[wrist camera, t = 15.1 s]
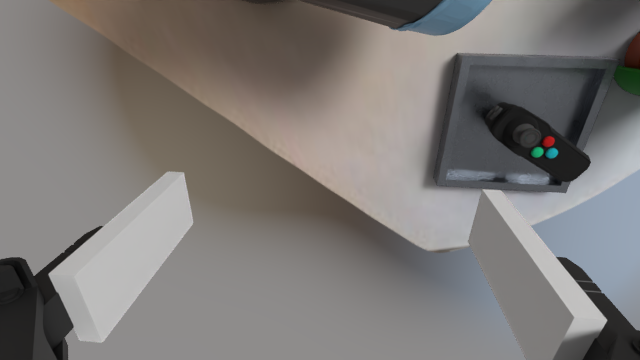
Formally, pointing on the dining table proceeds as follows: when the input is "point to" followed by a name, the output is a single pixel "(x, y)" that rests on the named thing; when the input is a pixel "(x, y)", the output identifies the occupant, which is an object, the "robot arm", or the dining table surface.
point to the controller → (536, 141)
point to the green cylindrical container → (630, 68)
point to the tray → (525, 91)
